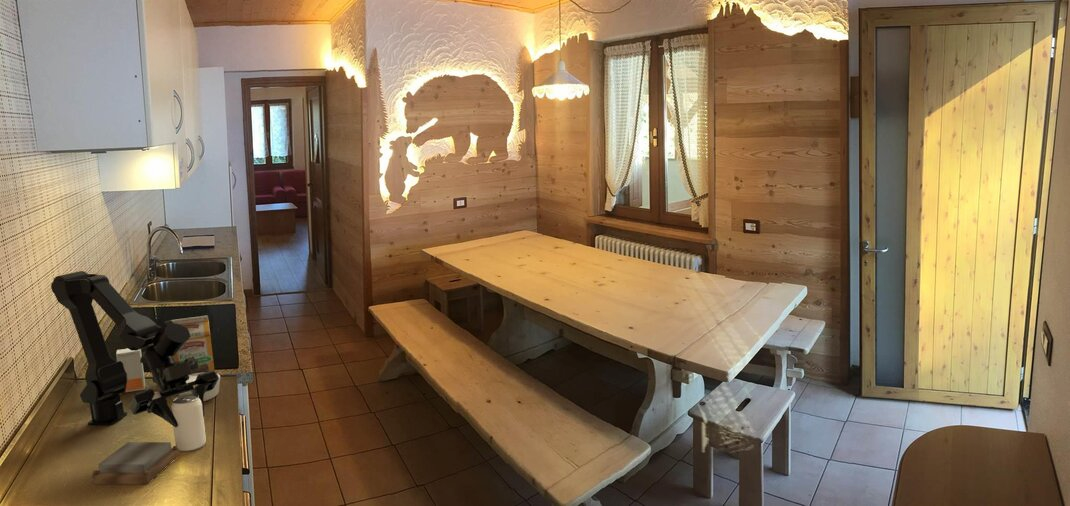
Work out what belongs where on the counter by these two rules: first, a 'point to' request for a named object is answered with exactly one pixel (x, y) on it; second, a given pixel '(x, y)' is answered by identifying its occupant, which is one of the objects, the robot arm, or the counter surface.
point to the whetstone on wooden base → (135, 463)
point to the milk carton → (197, 343)
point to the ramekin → (207, 394)
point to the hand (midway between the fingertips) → (190, 421)
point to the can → (188, 422)
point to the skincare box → (132, 368)
